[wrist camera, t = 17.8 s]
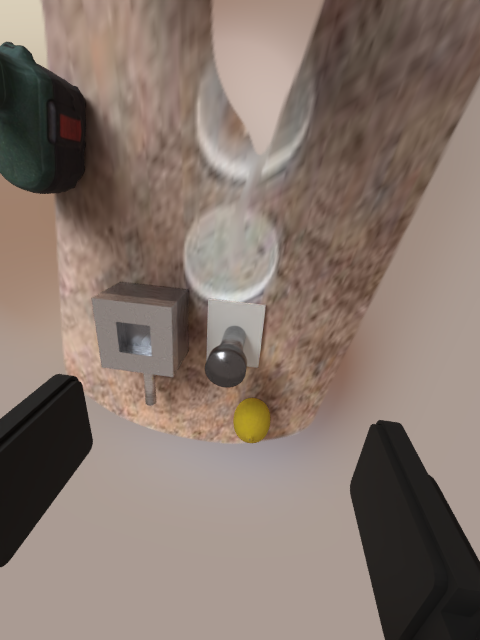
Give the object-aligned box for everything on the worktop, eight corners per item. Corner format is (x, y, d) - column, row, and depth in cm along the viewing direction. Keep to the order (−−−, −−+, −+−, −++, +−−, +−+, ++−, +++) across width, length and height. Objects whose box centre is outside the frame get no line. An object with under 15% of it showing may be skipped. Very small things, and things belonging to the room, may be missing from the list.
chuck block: (120, 281, 41) (91, 297, 35) (188, 289, 40) (171, 307, 34) (131, 384, 48) (108, 412, 42) (188, 392, 48) (174, 422, 41)
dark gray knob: (219, 318, 41) (205, 350, 32) (252, 322, 40) (247, 355, 32) (218, 348, 43) (204, 384, 34) (250, 351, 42) (244, 389, 34)
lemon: (261, 419, 48) (258, 460, 41) (231, 405, 48) (223, 444, 40) (277, 397, 46) (277, 435, 38) (246, 382, 45) (240, 418, 38)
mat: (209, 298, 40) (208, 299, 40) (265, 304, 40) (265, 306, 39) (207, 358, 44) (206, 360, 44) (258, 365, 44) (258, 367, 43)
